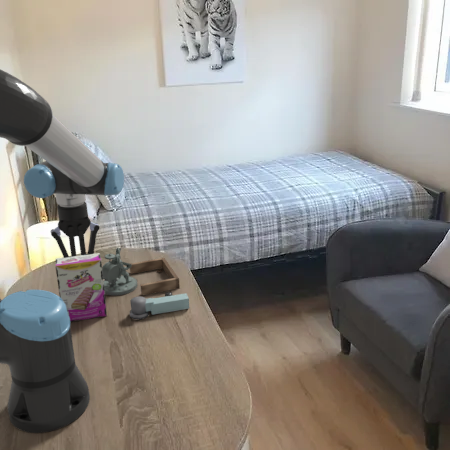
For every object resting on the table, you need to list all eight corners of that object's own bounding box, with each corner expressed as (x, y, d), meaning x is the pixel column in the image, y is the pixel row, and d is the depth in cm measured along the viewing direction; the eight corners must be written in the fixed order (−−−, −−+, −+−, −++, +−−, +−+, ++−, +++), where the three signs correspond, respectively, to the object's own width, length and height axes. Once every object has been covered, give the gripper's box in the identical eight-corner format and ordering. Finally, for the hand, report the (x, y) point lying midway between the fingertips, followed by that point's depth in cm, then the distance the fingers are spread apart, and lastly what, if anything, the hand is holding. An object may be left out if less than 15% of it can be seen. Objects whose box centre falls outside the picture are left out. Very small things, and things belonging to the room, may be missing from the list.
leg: (189, 309, 132) (189, 296, 131) (132, 318, 128) (131, 305, 127) (186, 302, 136) (185, 289, 134) (130, 311, 132) (129, 297, 130)
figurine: (144, 283, 147) (141, 246, 143) (119, 299, 139) (115, 259, 135) (118, 275, 153) (114, 239, 148) (92, 290, 144) (87, 252, 140)
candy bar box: (63, 324, 127) (54, 265, 121) (63, 314, 131) (54, 257, 126) (108, 316, 130) (101, 259, 124) (106, 307, 135) (99, 251, 129)
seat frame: (142, 295, 140) (141, 286, 139) (130, 272, 154) (129, 263, 153) (179, 288, 144) (179, 278, 143) (164, 266, 158) (164, 257, 157)
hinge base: (132, 321, 128) (131, 312, 127) (126, 308, 134) (125, 300, 133) (179, 311, 132) (178, 302, 131) (171, 299, 138) (171, 291, 137)
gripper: (46, 210, 127) (59, 293, 136) (98, 203, 132) (108, 283, 140) (45, 202, 134) (57, 281, 142) (94, 196, 138) (103, 273, 147)
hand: (82, 282), depth 141 cm, fingers closed
